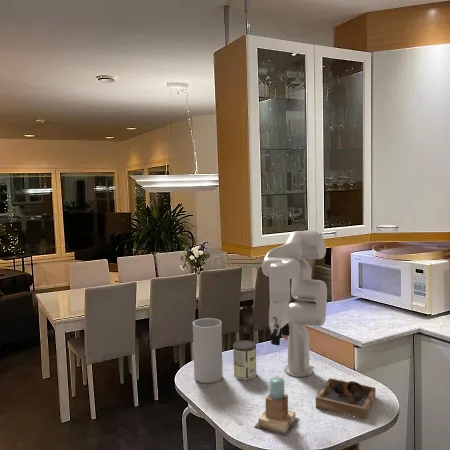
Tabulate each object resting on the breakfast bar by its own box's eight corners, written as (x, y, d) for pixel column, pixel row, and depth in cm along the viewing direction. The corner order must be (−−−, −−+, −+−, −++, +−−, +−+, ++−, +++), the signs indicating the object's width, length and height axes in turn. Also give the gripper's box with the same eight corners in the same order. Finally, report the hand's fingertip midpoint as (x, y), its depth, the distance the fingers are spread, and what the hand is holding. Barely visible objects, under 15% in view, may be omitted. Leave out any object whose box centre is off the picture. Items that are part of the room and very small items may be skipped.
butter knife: (235, 425, 157) (243, 422, 159) (208, 392, 182) (215, 390, 183) (235, 426, 158) (243, 424, 159) (209, 394, 182) (215, 392, 184)
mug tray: (329, 387, 185) (329, 378, 184) (375, 397, 176) (375, 387, 175) (315, 407, 169) (315, 397, 168) (365, 419, 160) (365, 409, 159)
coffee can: (238, 368, 205) (238, 338, 204) (259, 371, 201) (259, 341, 199) (229, 377, 196) (229, 346, 194) (251, 381, 191) (251, 350, 190)
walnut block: (272, 409, 162) (272, 391, 162) (287, 413, 159) (287, 394, 159) (265, 417, 157) (265, 398, 156) (281, 421, 154) (281, 402, 153)
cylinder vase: (201, 369, 204) (200, 316, 201) (226, 373, 199) (225, 319, 197) (189, 381, 193) (187, 325, 190) (215, 386, 188) (214, 328, 185)
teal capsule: (274, 391, 161) (274, 376, 160) (286, 395, 158) (286, 379, 158) (267, 397, 157) (267, 381, 156) (280, 401, 154) (279, 384, 153)
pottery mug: (360, 394, 179) (366, 382, 174) (359, 415, 172) (365, 403, 167) (331, 385, 181) (336, 372, 176) (328, 405, 174) (334, 392, 169)
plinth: (268, 411, 167) (268, 403, 166) (298, 419, 161) (298, 411, 160) (254, 427, 156) (254, 419, 156) (286, 436, 150) (286, 428, 150)
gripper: (279, 288, 174) (280, 330, 176) (260, 301, 159) (262, 346, 161) (297, 290, 170) (298, 333, 173) (280, 304, 155) (281, 350, 158)
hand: (280, 339), depth 167 cm, fingers open, 9 cm apart
